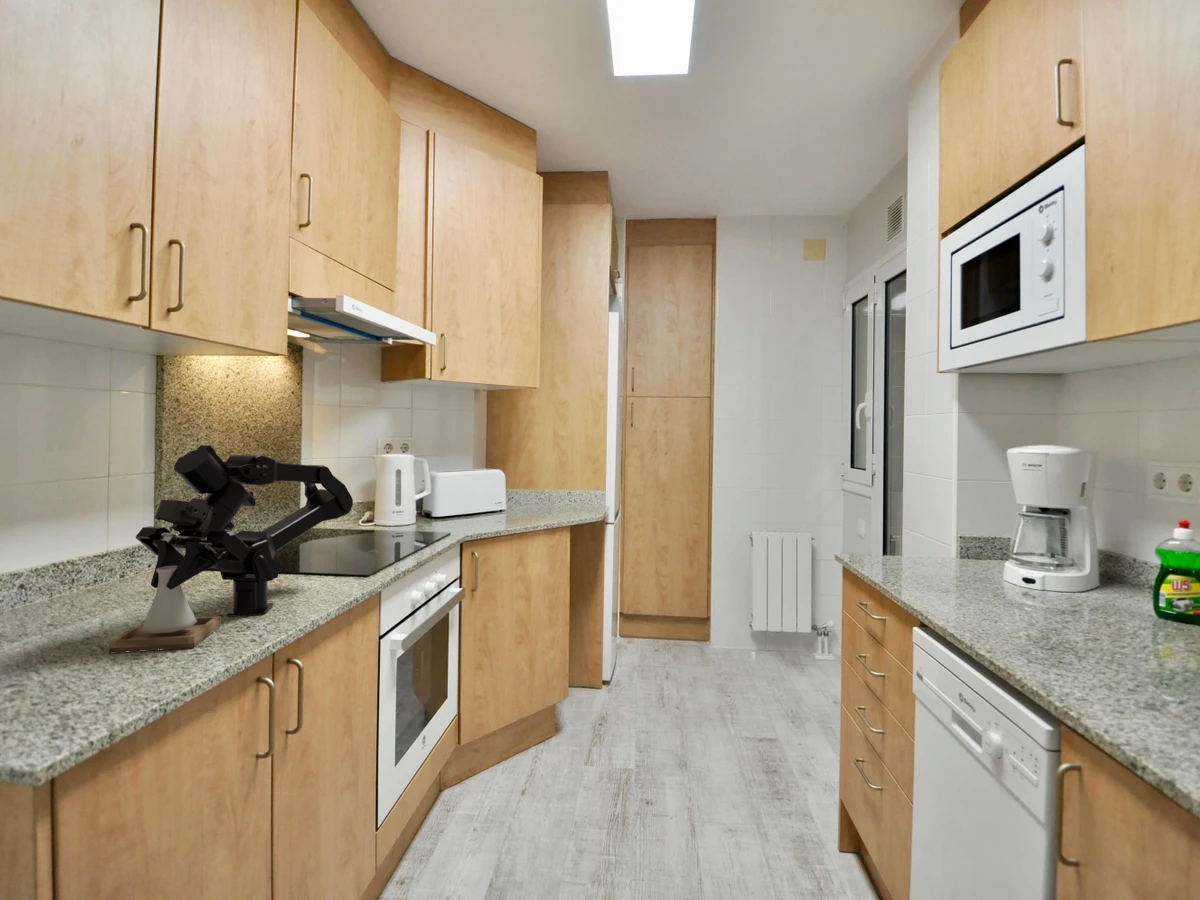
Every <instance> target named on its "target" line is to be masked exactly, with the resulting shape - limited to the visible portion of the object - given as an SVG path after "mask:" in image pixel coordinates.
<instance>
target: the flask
mask: <svg viewBox="0 0 1200 900" xmlns="http://www.w3.org/2000/svg"><path fill="white" fill-rule="evenodd" d="M177 567H178V566H165V567H160V568H158V569H156V572H157V573H158V574H159V582H158V587H157V588H156V593H155V596H154V598H153V600H152V603H151V606H150V607H149V608H150V609H149V611H148V613H147V615H146V617H145V618H146V619H144V620H145V623H144V625H143V628H142V630H141V631H142V632H147V633H153V634H154V633H168V632H176V631H179V630H182V629H186V628H189V627H192V626H193V625H194V624H195V623H196V622H197V620H196V616H195V614H194V612H193V610H192V609H191V607H190V604H189V602H188V600H187V598H186V596H185V593H184V591H183V589H182V584H180V585H179V586H177V587H175V588H174V589H169V588H168V587H167V586H166V585H167V583H168V581H169V579H170V577H171V576H172V574H173V573H174V571H175V570H176V568H177Z"/></svg>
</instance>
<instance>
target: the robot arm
mask: <svg viewBox="0 0 1200 900" xmlns="http://www.w3.org/2000/svg"><path fill="white" fill-rule="evenodd" d="M173 469H174V471H175V472H176V473H177V475H179V476H180V478H181V479H182V480H184V482H186V484H188V486H189V487H191V489H192V490H193V491H194V492H195V493H196V494H200V495H204V494H205V495H206V494H207V495H206V496H205V497H204V499H203V498H192V499H190V500H189V501H185V500H184V501H183V500H175V499H161V501H160V503H159V505H158V507H157V510H156V513H155V516H154V519H155V520H158V521H164V522H167V523H170V524H172V525H171V529H172V530H174V531H175V532H177V533H179V534H178V535H176V534H174V533H172V532H171V531H170V530H169V529H168V528H167V527H166V526H143V527H142V528H141V529H140V530H139V532H138V533H137V534H136V535H135V539H136V540H137V541H139V542H140V543H141V544H142V545H143V546H145V547H146V548H147V549H148V550H149V551H151V553H153V554H154V555H155V556H158V557H157V560H156V564H155V569H154V571H153V575H152V578H151V582H150V586H151V587H153V588H154V589H157V587H158V582H159V574H158V573H157V572H156V569H158V568H160V567H165V566H178V567H177V568H176V570H175V571H174V573H173V574H172V576H171V577H170V579H169V581H168V583H167V585H166V586H167V587H168V588H169V589H174V588H175V587H177V586H179V585H180V584H181V585H182V584H183V583H185V582H187V581H189V580H190V579H192V578H193V577H195V576H197V575H199V574H201V573H203V572H204V571H206V570H208V569H210V568H212V567H213V566H216V567H217V568H218V570H219V573H220V575H221V579H222V580H223V581H226V580H229V581H232V588H233V589H232V591H233V592H232V596H233V597H232V598H233V599H232V600H233V601H232V603H233V605H232V606H233V607H232V609H230V610H228V612H226V617H232V616H233V617H235V616H254V615H258V616H259V615H265V614H266V613H268V611H269V610H270V609H272V608H273V607H274V603H273V602H268V599H269V598H268V582H270V581H274V579H278V577H279V573H280V570H281V565H279V564H278V563H277V561H276V560H274V558H275V554H276V552H277V551H279V550H280V549H282V548H283V547H285V546H286V545H288V544H290V543H291V542H293V541H294V540H295V539H297V538H299V537H300V536H302V535H303V534H306V533H307V532H308V531H310V530H311V529H313V528H315V527H316V526H317V525H319V524H320V523H322V522H327V521H332V520H335V519H340V518H342V517H344V516H346V515H348V514H349V513H350V512H351V510H352V507H353V505H354V500H353V497H352V495H351V493H350V491H349V490H348V488H347V485H345V483H343V482H342V481H341V480H340V479H338V478H337V477H336V476H335V475H333V473H332V471H331V469H330V468H329V467H327V466H325V465H324V464H323V465H322V464H321V465H320V464H308V465H307V464H297V463H284V462H279V461H277V460H276V459H274V458H271V457H269V456H266V455H262V454H233V455H230V456H228V458H227V459H226V461H224V460H223V459H222V458H221V457H220V456H219V455H218V454H217V452H216V450H215V448H213V447H212V446H211V444H210V445H208V444H207V445H204V444H202V445H199V447H198V448H196V449H194V450H191V451H190V452H187V453H186V454H184V455H183V456H180V457H179V458H178V459H177V460H176V462H175V463H174V466H173ZM276 482H292V483H293V482H295V483H302V484H304V497H305V498H306V503H305V506H302V507H301V508H299V509H298V510H296V511H294V512H293V513H292V512H291V514H289V515H287V516H285V517H284V518H283V519H280V520H279V521H277V522H275V523H274V524H272V525H270V526H269V527H267V528H265V529H263V530H262V531H257V530H256V531H254V530H241V531H238V532H237V533H236V532H235V531H233V529H234V527H235V525H234V523H233V522H232V521H233V520H234V518H235V517H236V515H237V513H238V512H239V511H240V509H241V508H242V507H244V506H245V507H255V506H256V504H257V503H256V498H255V497H254V492H253V491H251V490H249V491H248V490H247V488H245V486H254V487H256V486H258V487H259V486H265V485H270V484H274V483H276ZM319 484H320V485H321V486H322V487H323V488H320V489H319V488H318V487H317V485H319ZM184 550H185V551H184ZM183 553H184V555H183Z"/></svg>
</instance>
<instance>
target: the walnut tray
mask: <svg viewBox="0 0 1200 900" xmlns="http://www.w3.org/2000/svg"><path fill="white" fill-rule="evenodd" d="M195 618H196V620H197V622H196V623H195V624H194V625H193V626H192V627H189V628H186V629H182V630H179V631H176V632H168V633H154V634H153V633H147V632H142V631H141V630H142V628H143V625H144V623H145V620H146V619H144V620H142V622H139V623H138V624H136V625H134V626H133V627H131V628H129V629H127V630H126V631H124V632H123V633H121V634H119V635H118V636H117V637H114V638H113V639H111V640H110V641H108V654H112V653H111V652H125V653H127V652H126V651H140V650H157V651H161V650H160V649H173V650H182V649H181V648H189V649H195V648H197V647H198V646H199V645H200V644H201V643H203V642H204V641H205V640H206V639H207V638H209V637H210V636H211V635H212V634H213V633H214V632H216V631H217V630H218V629H219V628H221V625H222V624H221V616H219V615H218V616H216V615H215V616H202V617H201V616H200V617H196V616H195ZM217 628H218V629H217ZM216 629H217V630H216ZM215 630H216V631H215ZM212 632H213V633H212ZM211 633H212V634H211ZM210 634H211V635H210ZM209 635H210V636H209ZM206 637H207V638H206ZM205 638H206V639H205ZM204 639H205V640H204ZM203 640H204V641H203ZM200 642H201V643H200ZM199 643H200V644H199ZM198 644H199V645H198ZM197 645H198V646H197ZM194 647H195V648H194ZM179 648H180V649H179ZM158 649H159V650H158Z"/></svg>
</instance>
